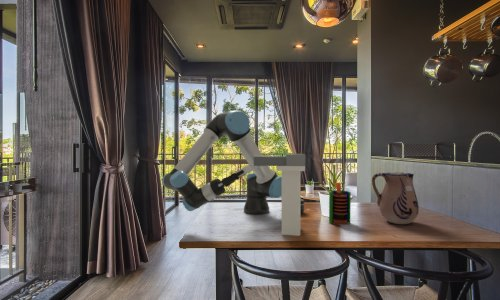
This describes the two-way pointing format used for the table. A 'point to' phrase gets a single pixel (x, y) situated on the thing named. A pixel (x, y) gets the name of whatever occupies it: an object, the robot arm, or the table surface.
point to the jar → (302, 206)
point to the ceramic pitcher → (397, 197)
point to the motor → (339, 206)
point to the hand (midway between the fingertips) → (253, 166)
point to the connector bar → (280, 160)
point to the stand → (291, 199)
